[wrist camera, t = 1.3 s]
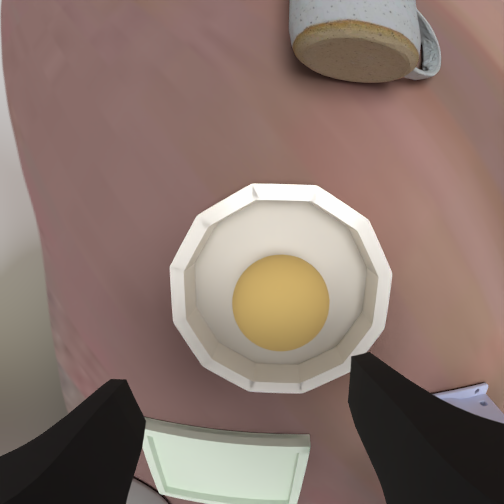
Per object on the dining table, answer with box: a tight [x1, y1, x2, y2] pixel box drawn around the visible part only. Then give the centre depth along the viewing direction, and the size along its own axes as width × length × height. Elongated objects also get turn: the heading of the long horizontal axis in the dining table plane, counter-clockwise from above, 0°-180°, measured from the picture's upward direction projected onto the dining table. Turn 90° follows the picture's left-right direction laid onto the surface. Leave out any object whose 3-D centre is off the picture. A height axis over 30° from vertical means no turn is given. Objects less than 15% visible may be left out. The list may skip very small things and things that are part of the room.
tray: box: [142, 417, 311, 504], centre depth 21 cm, size 14×11×2 cm
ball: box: [232, 254, 330, 351], centre depth 15 cm, size 5×5×5 cm
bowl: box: [170, 184, 392, 393], centre depth 17 cm, size 12×12×3 cm
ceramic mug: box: [289, 0, 441, 83], centre depth 11 cm, size 11×8×8 cm
